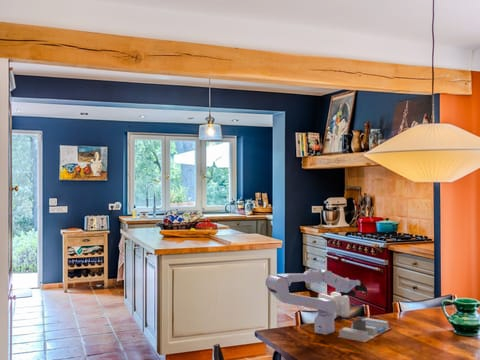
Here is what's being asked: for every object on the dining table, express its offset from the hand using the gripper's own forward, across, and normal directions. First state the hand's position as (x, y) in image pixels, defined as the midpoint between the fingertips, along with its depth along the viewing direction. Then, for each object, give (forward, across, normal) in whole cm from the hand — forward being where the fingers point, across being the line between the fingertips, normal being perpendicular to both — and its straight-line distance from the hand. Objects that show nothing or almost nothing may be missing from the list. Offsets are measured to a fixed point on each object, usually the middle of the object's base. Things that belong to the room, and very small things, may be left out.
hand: (360, 292), depth 230 cm
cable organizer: (+7, +27, +4) cm, 28 cm away
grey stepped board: (+1, -2, +21) cm, 21 cm away
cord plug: (-4, -3, +22) cm, 23 cm away
